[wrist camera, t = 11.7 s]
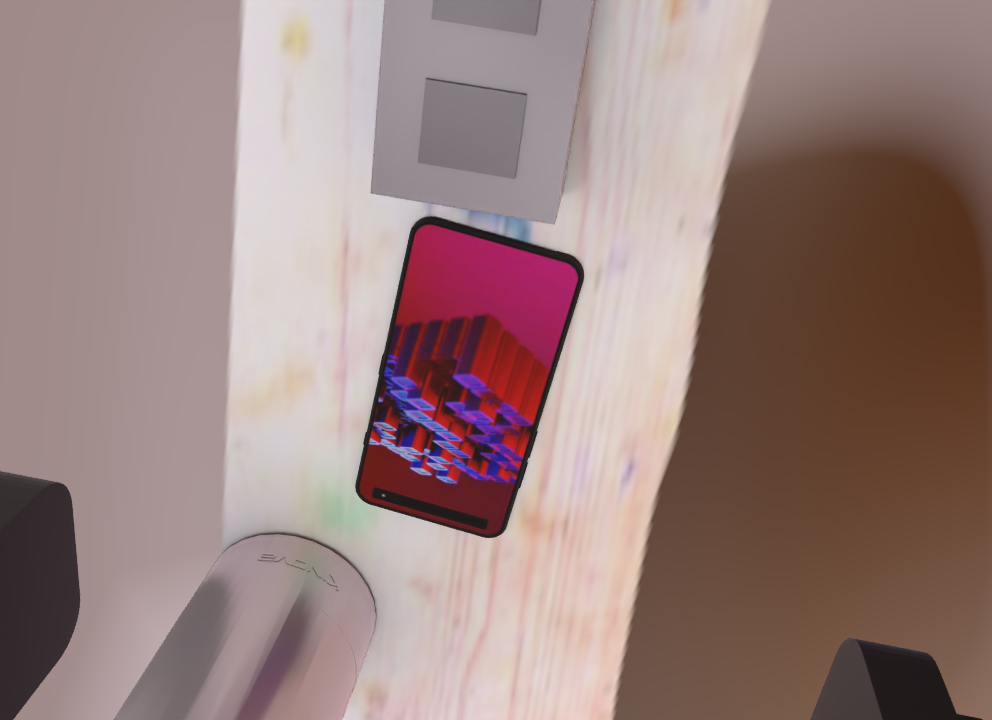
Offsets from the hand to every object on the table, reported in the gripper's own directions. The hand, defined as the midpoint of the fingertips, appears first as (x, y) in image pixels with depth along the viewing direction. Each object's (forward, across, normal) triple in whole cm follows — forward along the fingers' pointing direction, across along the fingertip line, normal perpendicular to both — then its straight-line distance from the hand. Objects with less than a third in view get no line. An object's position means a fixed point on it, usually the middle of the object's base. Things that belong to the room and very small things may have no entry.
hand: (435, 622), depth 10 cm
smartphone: (+31, +3, +14) cm, 34 cm away
